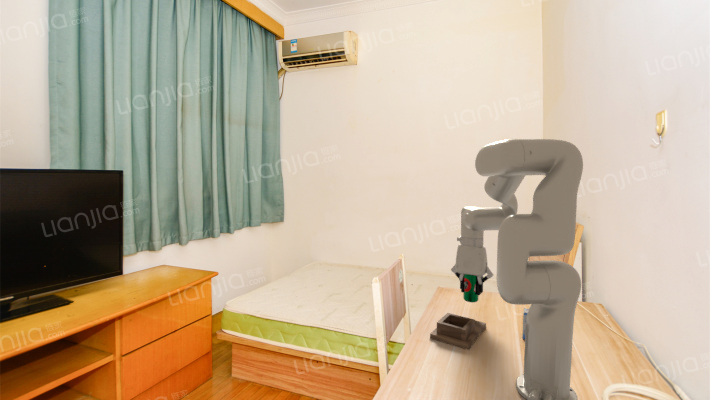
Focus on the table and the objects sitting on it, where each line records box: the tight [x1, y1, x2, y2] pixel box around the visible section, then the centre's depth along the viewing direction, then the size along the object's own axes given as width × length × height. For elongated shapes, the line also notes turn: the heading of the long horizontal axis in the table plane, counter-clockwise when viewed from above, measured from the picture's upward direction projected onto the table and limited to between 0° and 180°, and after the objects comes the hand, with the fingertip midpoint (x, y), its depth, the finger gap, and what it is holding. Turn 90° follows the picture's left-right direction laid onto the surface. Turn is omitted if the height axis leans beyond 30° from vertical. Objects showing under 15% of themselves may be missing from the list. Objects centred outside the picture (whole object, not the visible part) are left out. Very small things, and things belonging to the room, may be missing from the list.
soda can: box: [462, 274, 480, 303], centre depth 121 cm, size 5×5×12 cm
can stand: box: [429, 312, 487, 351], centre depth 111 cm, size 18×12×5 cm, turn 144°
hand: (471, 292), depth 121 cm, fingers closed on soda can, 4 cm apart
